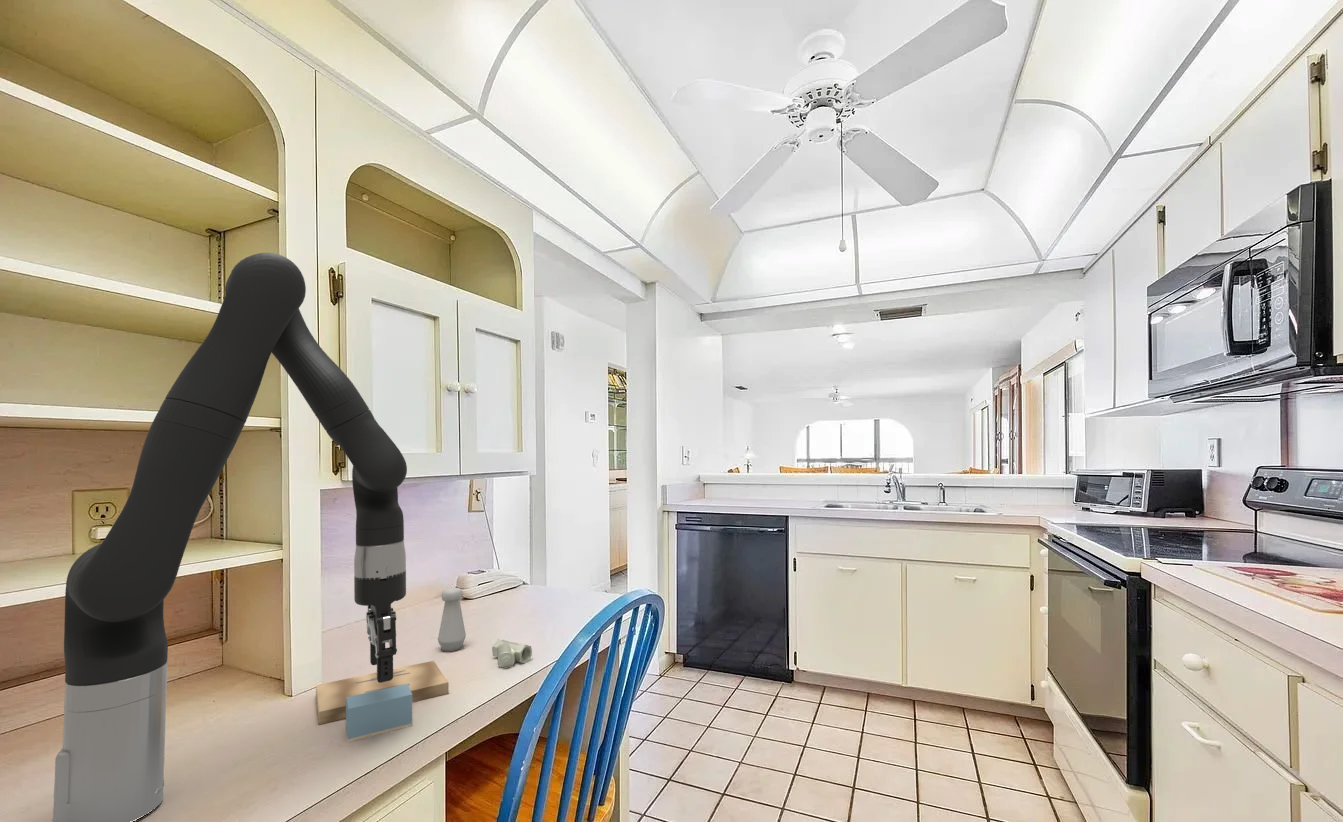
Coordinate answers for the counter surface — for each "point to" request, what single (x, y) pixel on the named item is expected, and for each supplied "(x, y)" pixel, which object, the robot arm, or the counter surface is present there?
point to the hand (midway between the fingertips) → (381, 672)
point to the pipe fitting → (511, 652)
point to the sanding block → (378, 712)
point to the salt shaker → (452, 621)
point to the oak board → (379, 688)
